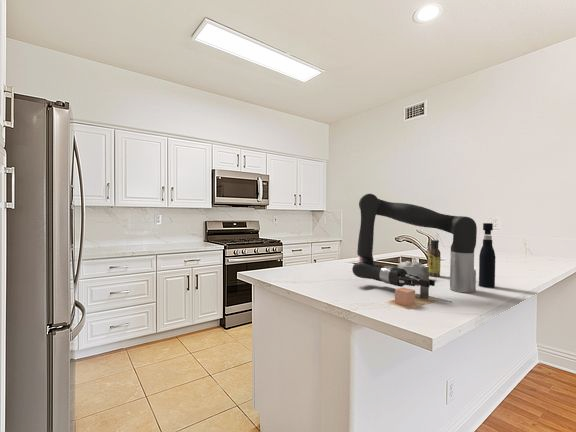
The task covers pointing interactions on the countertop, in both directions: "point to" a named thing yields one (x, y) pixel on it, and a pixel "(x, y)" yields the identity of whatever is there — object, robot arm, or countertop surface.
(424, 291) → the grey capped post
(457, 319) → the countertop surface
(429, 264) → the sauce bottle
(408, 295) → the terracotta block
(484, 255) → the wine bottle
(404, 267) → the lumpy-topped squat cylinder
